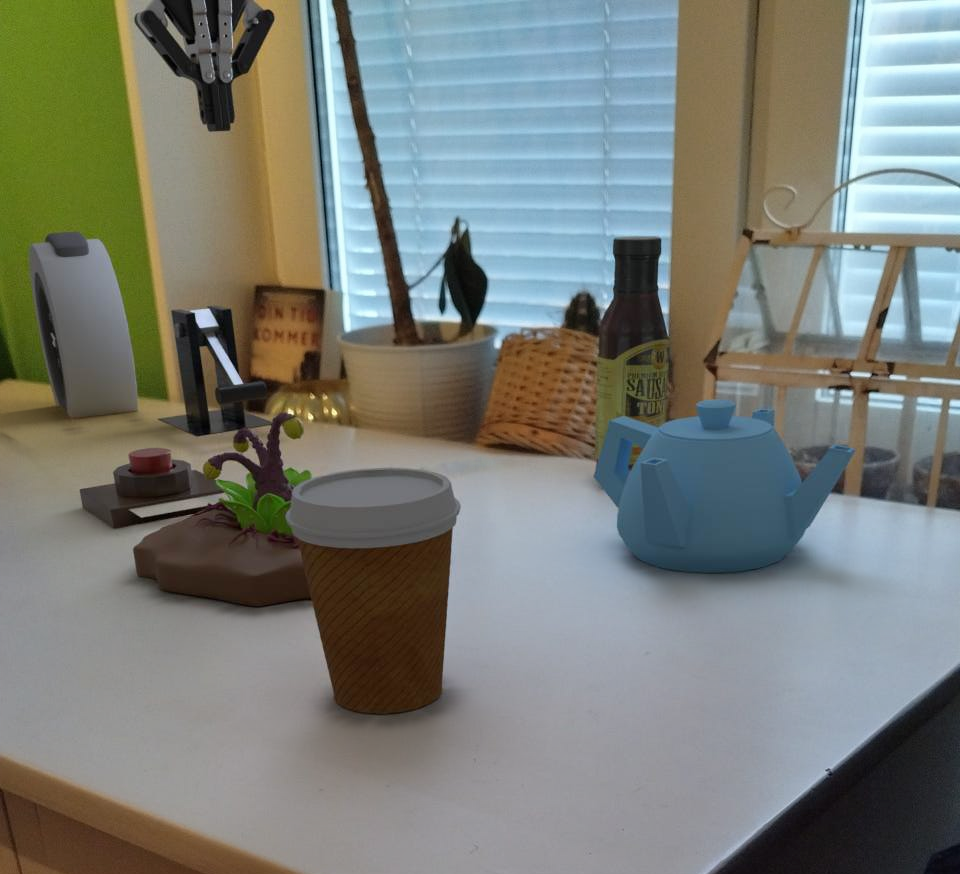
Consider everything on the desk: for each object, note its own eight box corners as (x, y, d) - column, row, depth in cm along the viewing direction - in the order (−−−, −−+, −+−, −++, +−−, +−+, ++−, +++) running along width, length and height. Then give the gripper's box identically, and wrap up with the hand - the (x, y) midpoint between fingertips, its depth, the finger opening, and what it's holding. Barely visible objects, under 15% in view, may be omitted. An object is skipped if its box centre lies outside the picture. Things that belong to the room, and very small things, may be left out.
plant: (264, 623, 88) (243, 453, 83) (101, 572, 100) (73, 421, 95) (467, 552, 101) (460, 401, 95) (301, 514, 113) (286, 378, 107)
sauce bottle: (630, 490, 115) (634, 241, 106) (580, 479, 120) (579, 239, 110) (680, 476, 119) (688, 235, 109) (629, 466, 123) (633, 232, 114)
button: (139, 479, 113) (136, 458, 112) (126, 472, 116) (122, 451, 115) (179, 472, 115) (176, 452, 114) (165, 465, 118) (162, 445, 117)
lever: (265, 404, 136) (268, 385, 134) (220, 411, 134) (222, 392, 132) (219, 325, 141) (221, 306, 139) (175, 331, 139) (176, 311, 137)
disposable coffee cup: (336, 739, 71) (313, 519, 65) (287, 681, 79) (262, 480, 73) (496, 705, 74) (487, 492, 69) (433, 653, 82) (421, 458, 76)
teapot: (772, 515, 107) (781, 375, 101) (849, 568, 94) (864, 411, 88) (588, 532, 105) (588, 391, 99) (642, 589, 92) (645, 430, 86)
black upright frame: (278, 437, 141) (263, 309, 135) (199, 450, 137) (180, 319, 131) (235, 421, 150) (219, 300, 144) (159, 432, 146) (140, 308, 140)
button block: (114, 529, 111) (106, 487, 109) (82, 508, 118) (75, 468, 116) (235, 507, 116) (230, 466, 114) (198, 487, 123) (192, 449, 121)
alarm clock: (52, 405, 164) (19, 229, 154) (113, 398, 166) (83, 225, 156) (78, 435, 146) (41, 240, 137) (145, 427, 149) (114, 234, 139)
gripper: (245, -91, 118) (268, 129, 127) (102, -95, 113) (136, 135, 121) (279, -103, 113) (301, 127, 121) (130, -109, 107) (164, 134, 115)
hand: (219, 131), depth 121 cm, fingers closed
